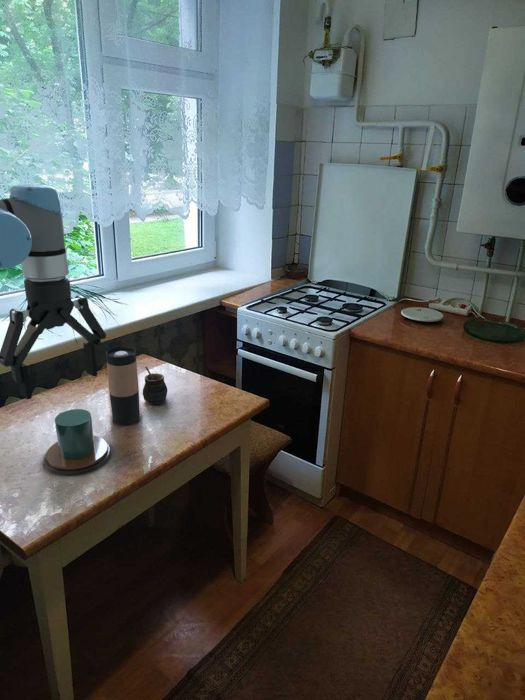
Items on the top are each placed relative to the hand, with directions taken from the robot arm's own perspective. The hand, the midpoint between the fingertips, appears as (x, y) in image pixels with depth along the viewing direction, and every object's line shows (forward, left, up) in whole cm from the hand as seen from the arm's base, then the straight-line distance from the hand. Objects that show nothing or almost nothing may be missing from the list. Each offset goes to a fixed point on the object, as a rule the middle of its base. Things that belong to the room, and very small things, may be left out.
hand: (60, 384), depth 96 cm
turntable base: (+9, +13, -27) cm, 31 cm away
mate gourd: (+40, +21, -27) cm, 52 cm away
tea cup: (+9, +13, -26) cm, 30 cm away
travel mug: (+28, +19, -27) cm, 43 cm away
